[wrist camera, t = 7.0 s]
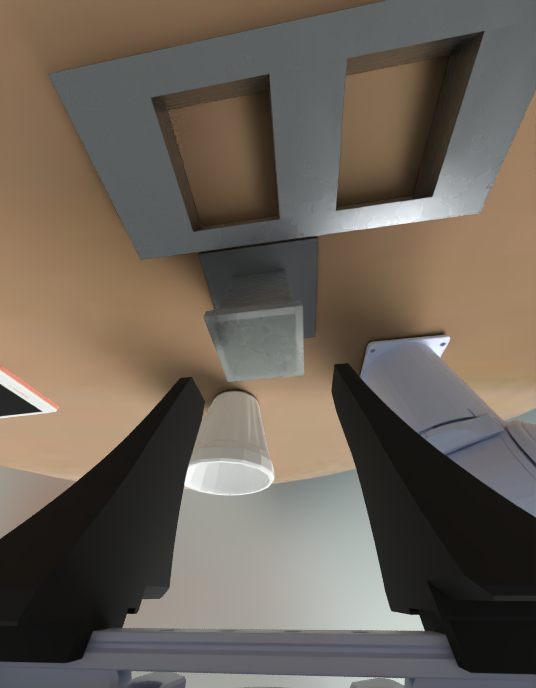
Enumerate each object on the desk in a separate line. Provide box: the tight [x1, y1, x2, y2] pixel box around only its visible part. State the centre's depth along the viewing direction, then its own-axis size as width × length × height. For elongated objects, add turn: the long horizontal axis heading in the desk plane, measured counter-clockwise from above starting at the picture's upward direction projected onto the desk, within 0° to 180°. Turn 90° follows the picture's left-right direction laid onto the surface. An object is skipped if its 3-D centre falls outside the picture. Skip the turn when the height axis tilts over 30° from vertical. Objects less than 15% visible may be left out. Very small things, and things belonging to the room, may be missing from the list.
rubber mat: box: [198, 237, 318, 338], centre depth 18 cm, size 9×9×1 cm
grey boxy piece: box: [204, 269, 304, 382], centre depth 15 cm, size 5×5×7 cm
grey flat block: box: [48, 0, 536, 260], centre depth 11 cm, size 8×22×2 cm, turn 97°
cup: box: [184, 390, 274, 495], centre depth 24 cm, size 10×10×9 cm
